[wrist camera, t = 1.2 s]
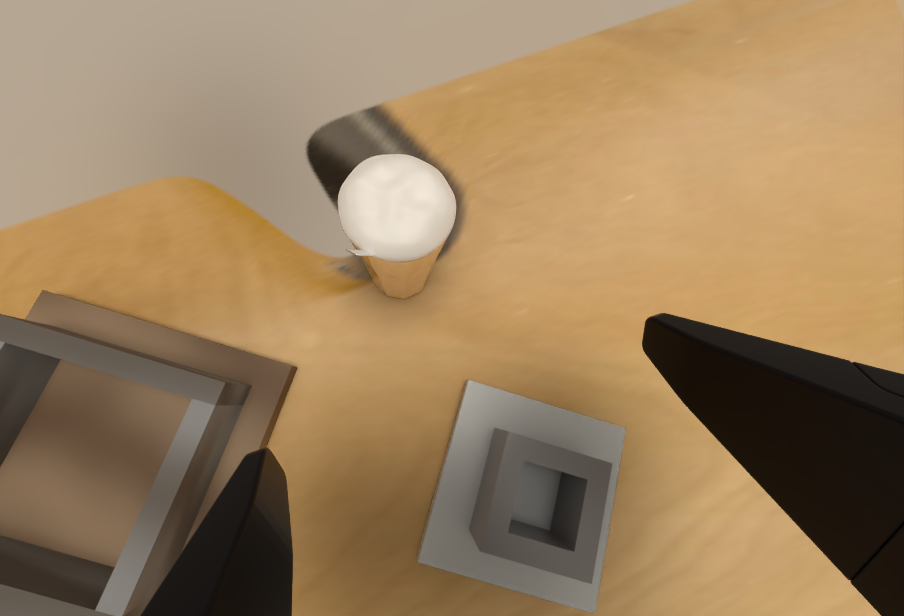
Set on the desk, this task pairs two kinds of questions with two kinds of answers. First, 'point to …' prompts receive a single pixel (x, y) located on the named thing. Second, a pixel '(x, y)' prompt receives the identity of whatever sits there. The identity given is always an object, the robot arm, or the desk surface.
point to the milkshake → (397, 219)
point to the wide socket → (115, 451)
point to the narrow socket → (525, 497)
